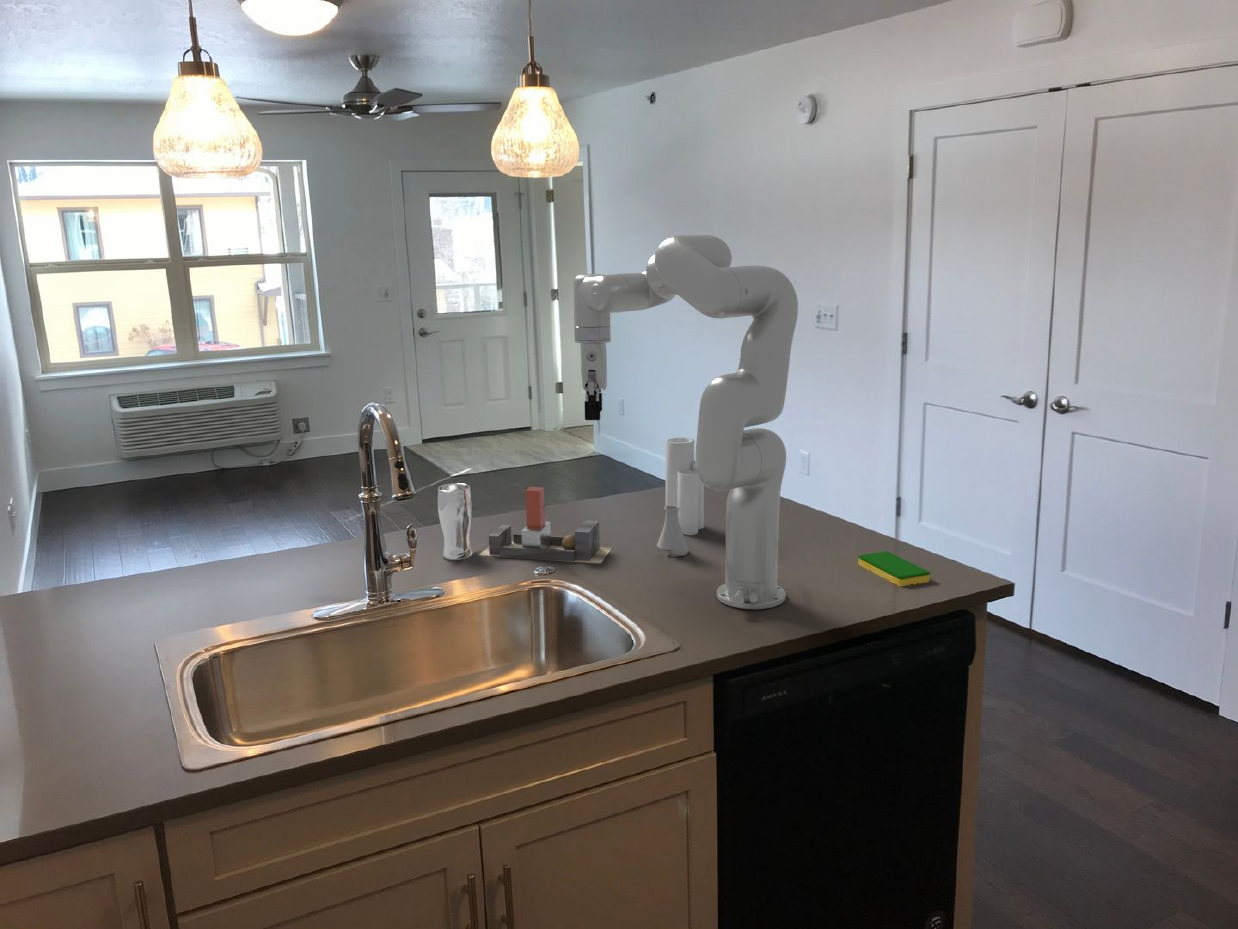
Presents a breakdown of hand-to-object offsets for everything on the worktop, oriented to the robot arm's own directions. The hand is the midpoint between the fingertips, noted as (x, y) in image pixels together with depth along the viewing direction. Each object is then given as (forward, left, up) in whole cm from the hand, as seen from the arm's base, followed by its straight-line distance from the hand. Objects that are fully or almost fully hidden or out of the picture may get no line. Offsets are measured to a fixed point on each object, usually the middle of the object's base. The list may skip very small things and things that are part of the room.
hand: (593, 415), depth 204 cm
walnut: (-12, +2, -27) cm, 30 cm away
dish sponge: (-7, -62, -29) cm, 69 cm away
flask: (-3, -17, -29) cm, 34 cm away
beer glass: (-14, +27, -29) cm, 41 cm away
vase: (+15, -17, -29) cm, 37 cm away
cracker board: (-12, +8, -28) cm, 32 cm away
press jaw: (-12, +10, -26) cm, 31 cm away
